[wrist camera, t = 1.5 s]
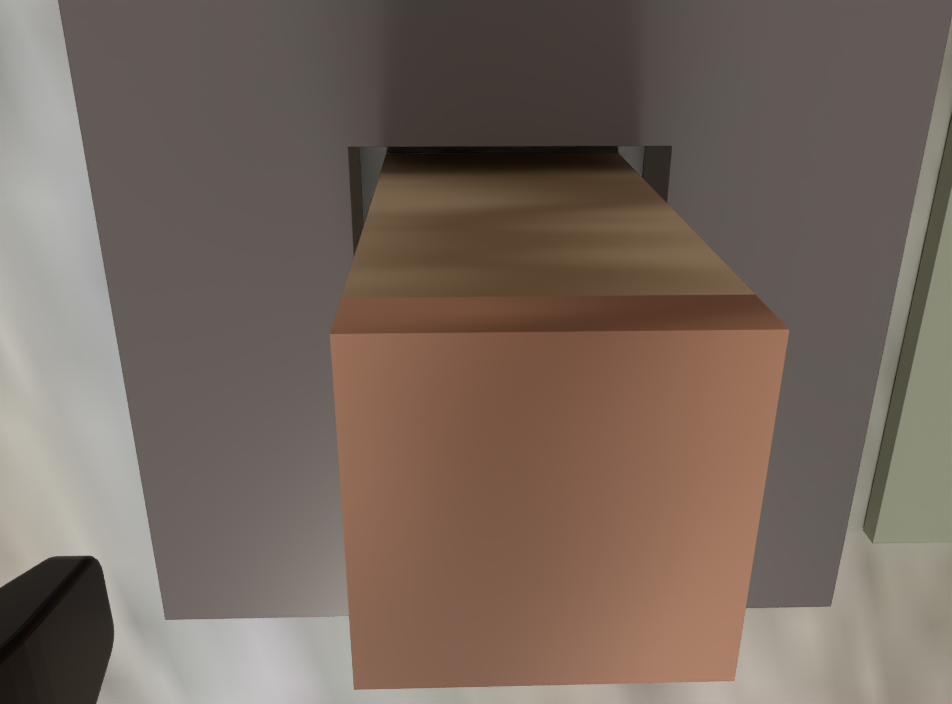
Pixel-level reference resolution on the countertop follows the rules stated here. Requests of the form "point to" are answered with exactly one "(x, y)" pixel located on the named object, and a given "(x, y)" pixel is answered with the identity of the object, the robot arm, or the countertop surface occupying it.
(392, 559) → the wooden plug
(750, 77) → the grey flat square slab
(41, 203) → the countertop surface
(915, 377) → the rubber mat
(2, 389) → the countertop surface
